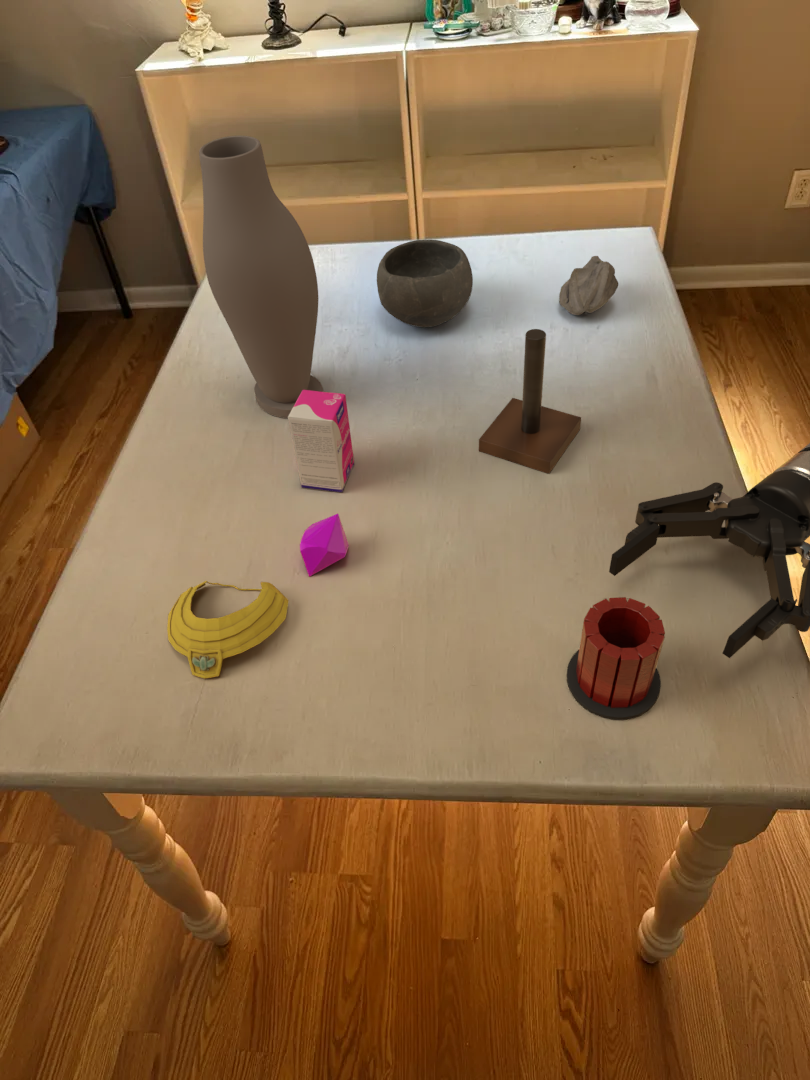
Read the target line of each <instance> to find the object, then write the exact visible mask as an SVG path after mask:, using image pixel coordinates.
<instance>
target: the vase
mask: <svg viewBox="0 0 810 1080" xmlns="http://www.w3.org/2000/svg"><path fill="white" fill-rule="evenodd" d="M262 147H263V146H262V144H261V141H260V140H259V139H258V138H256V137H254V136H251V135H250V136H249V135H227V136H223V137H218V138H216V139H213V140H211V141H208V142H206V143H205V144H203V145H201V147H200V148H199V150H198V158H199V163H200V164H199V165H200V171H201V180H202V203H203V204H202V207H203V209H202V211H203V212H202V213H203V215H202V217H203V218H202V219H203V220H202V253H203V260H204V261H203V263H204V268H205V269H204V270H205V275H206V279H207V281H208V282H207V283H208V285H209V288H210V290H211V293H212V296H213V298H214V300H215V302H216V304H217V306H218V308H219V310H220V312H221V315H222V317H223V319H224V320H225V322H226V324H227V326H228V328H229V330H230V332H231V334H232V336H233V338H234V340H235V342H236V344H237V346H238V348H239V351H240V353H241V354H242V357H243V359H244V361H245V364H246V365H247V367H248V370H249V371H250V373H251V375H252V377H253V379H254V381H255V384H254V387H253V389H254V390H253V391H254V396H255V401H256V403H257V406H258V407H259V408H260V409H261V410H263V411H264V412H265V413H267V414H269V415H271V416H273V417H278V418H283V419H288V416H289V414H290V412H291V410H292V408H293V406H294V405H295V403H296V401H297V399H298V397H299V395H300V394H301V392H302V390H310V391H319V392H324V387H323V385H322V382H320V379H318V378H317V377H315V376H314V375H312V367H313V358H314V349H315V341H316V332H317V324H318V316H319V315H318V314H319V285H318V278H317V272H316V267H315V261H314V259H313V255H312V251H311V249H310V247H309V244H308V241H307V239H306V236H305V234H304V233H303V230H302V228H301V226H300V224H299V223H298V221H297V220H296V218H295V217H294V215H293V214H292V212H291V211H290V210H289V209H288V208H287V206H286V205H285V204H284V203H283V202H282V201H281V200H280V198H279V197H278V196H277V194H276V192H275V191H274V189H273V187H272V183H271V181H270V177H269V173H268V170H267V165H266V161H265V156H264V152H263V148H262Z"/></svg>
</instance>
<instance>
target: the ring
mask: <svg viewBox="0 0 810 1080" xmlns="http://www.w3.org/2000/svg"><path fill="white" fill-rule="evenodd" d="M665 635H666V631H665V627H664V623H663V620H662V619H661V616H660V615H659V614H658V613H657V612H656V611H655V610H654V609H653V608H651V606H650V605H647V606H646V603H644V602H642V601H640V600H637V599H634V598H631V597H629V598H627V597H626V596H625V597H623V596H622V597H621V596H619V597H609V598H608V599H607V598H604V599H602V600H600V601H598V602H596V603H595V604H592V607H590V608H589V609H588V611H587V613H586V615H585V616H584V618H583V624H582V630H581V636H580V643H579V649H578V650H579V655H578V662H577V668H576V673H577V679H578V683H579V684H580V688H581V689H582V690H583V691H584V692H585V694H586V695H587V696H588V697H589V698H591V697H593V698H592V700H593V701H595V702H598V703H600V704H602V705H604V706H607V707H608V705H609V703H610V705H611V708H621V707H628V704H629V705H630V706H633V705H634V704H636V703H638V702H640V701H641V700H643V699H644V696H645V697H646V695H647V693H648V691H649V689H650V687H651V684H652V680H653V677H654V673H655V670H656V668H657V666H658V663H659V659H660V656H661V651H662V649H663V645H664V643H665V642H664V641H665V638H666V637H665Z"/></svg>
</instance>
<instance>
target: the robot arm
mask: <svg viewBox="0 0 810 1080" xmlns="http://www.w3.org/2000/svg"><path fill="white" fill-rule="evenodd" d="M723 489H724V485H723V484H722V483H720V482H717V481H716V482H712V483H711V484H709V485H707V486H706V487H703V488H702V489H697V490H693V491H688V492H683V493H680V494H679V493H678V494H674V495H669V496H664V497H660V498H655V499H651V500H646V501H641V502H639V503H638V505H637V510H636V515H635V524H636V525H637V526H636V527H634V528H633V529H631V530H630V531H629V532H628V533H627V534H626V536H625V541H624V545H622V546H621V547H620V548H619V549H617V550H616V551H615V552H613V553H612V554H611V558H610V564H609V570H608V572H609V574H611V575H613V576H614V577H615V576H617V575H618V574H619V573H621V572H622V571H624V569H626V568H628V567H629V566H630V565H631V564H633V563H634V562H635V561H636V560H638V559H639V558H640V557H641V556H643V555H644V554H646V553H647V552H648V551H650V550H651V549H652V548H654V547H655V546H656V545H657V541H658V538H661V539H662V538H686V537H691V538H692V537H711V539H712V540H723V539H724V540H727V539H728V540H727V541H728V542H729V543H730V544H732V545H733V546H736V547H738V548H739V549H740V548H741V549H742V550H743V551H744V552H745V553H746V554H748V555H750V556H751V557H752V558H755V557H758V558H762V564H763V570H764V572H766V578H767V584H768V590H769V596H770V599H769V600H768V601H767V602H766V603H765V604H764V605H762V606H761V607H760V608H759V609H758V610H756V612H754V613H753V614H752V615H751V616H750V617H749V618H747V619H746V620H745V621H744V622H743V623H742V624H741V625H740V626H738V628H737V629H735V630H733V632H732V633H731V634H730V635H729V636H728V638H727V640H726V643H725V646H724V648H723V651H722V655H724V656H725V657H726V658H728V659H731V658H732V657H733V656H734V655H735V654H737V652H739V650H740V649H742V648H743V647H744V646H745V645H746V644H747V643H748V642H750V641H751V639H753V638H754V637H756V638H758V639H759V640H761V641H762V642H763V641H765V640H768V639H770V637H771V636H773V634H775V633H776V632H777V631H778V630H779V629H780V628H781V627H782V626H783V625H792V626H794V628H795V629H796V630H797V631H798V632H801V633H806V632H808V631H809V629H810V543H809V542H807V541H806V540H807V539H809V538H810V442H809V443H808V444H807V445H805V446H804V447H802V449H800V450H799V451H798V452H797V453H795V454H794V455H793V456H792V457H790V458H789V459H788V460H786V461H785V462H784V463H782V464H781V465H780V466H779V467H777V468H776V469H775V470H773V472H771V473H769V474H768V475H767V476H765V477H763V479H761V480H760V481H759V482H758V483H756V485H754V486H753V487H751V488H750V489H749V490H748V491H747V492H746V493H745V494H744V495H743V496H740V497H735V498H732V497H731V496H729V495H728V494H727V493H725V492H724V491H723ZM723 524H725V525H724V526H723ZM796 554H798V555H799V556H800V562H801V567H802V568H803V569H804V571H803V573H802V576H801V583H800V589H799V590H800V591H799V596H798V598H796V599H795V597H794V592H793V588H792V581H791V577H790V572H789V566H788V559H787V556H794V555H796ZM797 603H798V604H797ZM796 604H797V605H796Z"/></svg>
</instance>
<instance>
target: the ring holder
mask: <svg viewBox="0 0 810 1080" xmlns="http://www.w3.org/2000/svg"><path fill="white" fill-rule="evenodd" d="M524 336H525V339H524V360H523V380H522V381H523V382H522V383H523V384H522V399H519V398H517V397H516V398H515V397H512V398H511V399H510V400H509V402H508V403H507V404H506V405H505V407H504V408H503V409H502V410H501V411H500V412H499V414H498V415H497V416H496V417H495V418H494V420H493V421H492V423H490V425H489V426H488V427H487V429H486V430H485V431H484V432H483V434H482V435H481V436H480V437H479V438H478V451H479V452H481V453H483V454H487V455H490V456H493V457H496V458H499V459H502V460H505V461H508V462H512V463H513V464H518V465H520V466H524V467H527V468H530V469H533V470H536V471H540V472H542V473H545V474H548V475H549V474H551V472H552V471H553V470H554V468H555V466H556V465H557V463H558V462H559V460H560V459H561V457H562V456H563V454H564V453H565V452H566V450H567V449H568V447H569V446H570V445H571V443H572V442H573V440H574V439H575V437H576V436H577V434H579V432H580V430H581V425H582V417H581V416H578V415H575V414H572V413H567V412H564V411H561V410H557V409H553V408H551V407H547V406H544V405H542V402H543V385H544V373H545V372H544V371H545V357H546V343H547V333H546V331H545V330H543V329H541V328H533V329H532V328H531V329H529V330H527V331H526V332H525V335H524Z"/></svg>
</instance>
